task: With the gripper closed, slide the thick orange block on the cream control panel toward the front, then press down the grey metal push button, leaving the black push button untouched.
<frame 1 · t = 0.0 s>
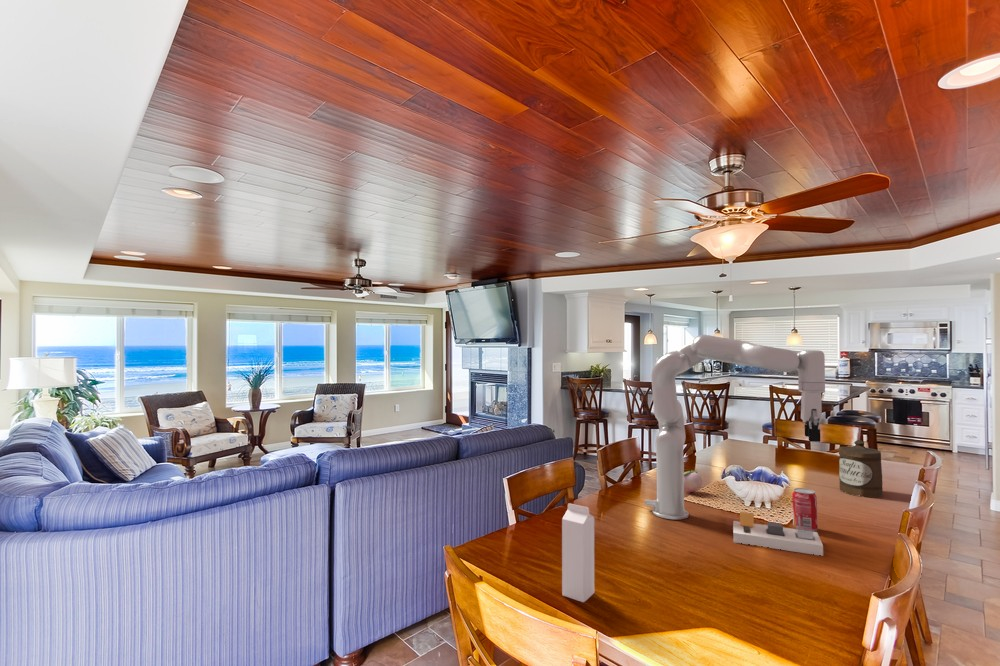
hand: (812, 439, 165), 31 cm above the table, tool pointing down, fingers open, 9 cm apart
control panel: (775, 541, 157), on the table
decorative fruit: (691, 493, 210), on the table
milk: (578, 595, 124), on the table
soda can: (805, 529, 168), on the table
button grey: (804, 534, 154), point 4 cm above the table, slide at 0.0 cm
wooden container: (860, 492, 211), on the table
thick orange block: (746, 523, 162), point 4 cm above the table, slide at 0.0 cm
button black: (775, 530, 157), point 4 cm above the table, slide at 0.0 cm
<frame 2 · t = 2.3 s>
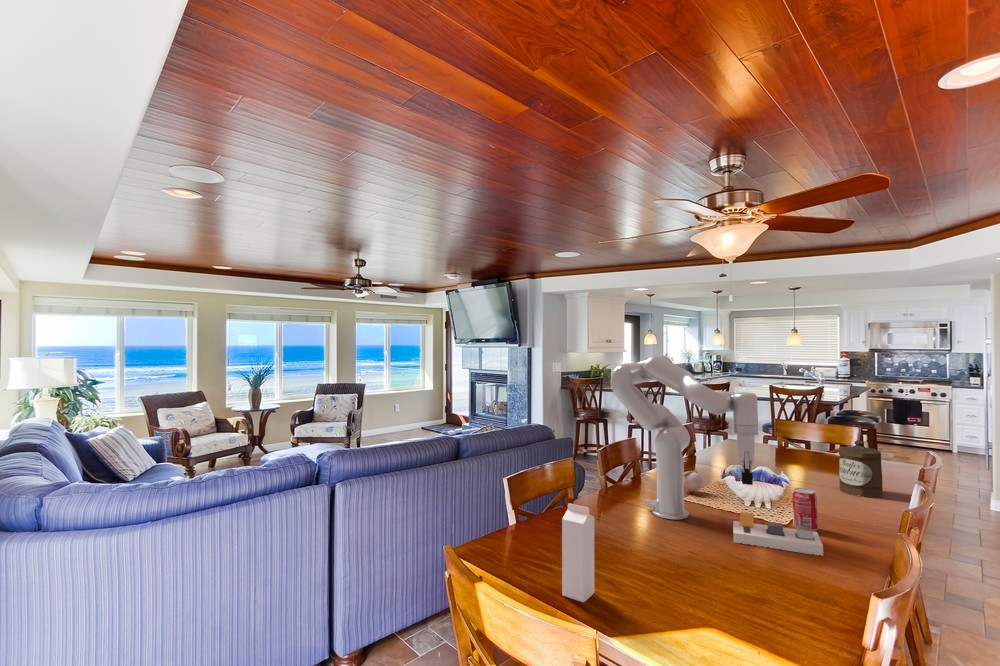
hand: (747, 483, 168), 15 cm above the table, tool pointing down, fingers closed
nothing on the table moved.
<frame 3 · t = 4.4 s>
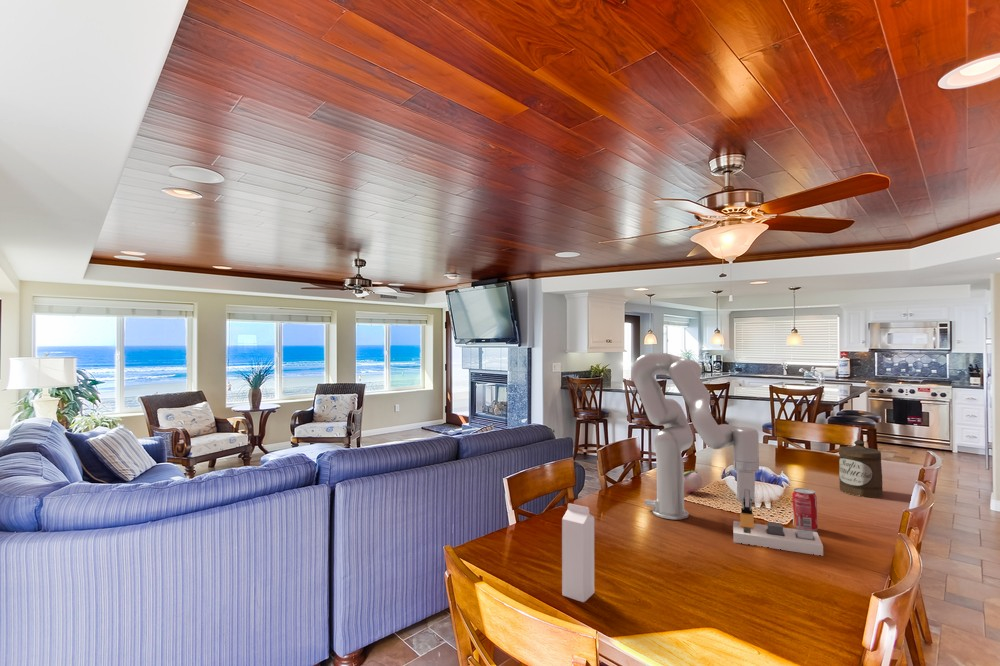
hand: (746, 521, 164), 4 cm above the table, tool pointing down, fingers closed
thick orange block: (746, 524, 161), point 4 cm above the table, slide at 1.1 cm, touching gripper
everything else where it was.
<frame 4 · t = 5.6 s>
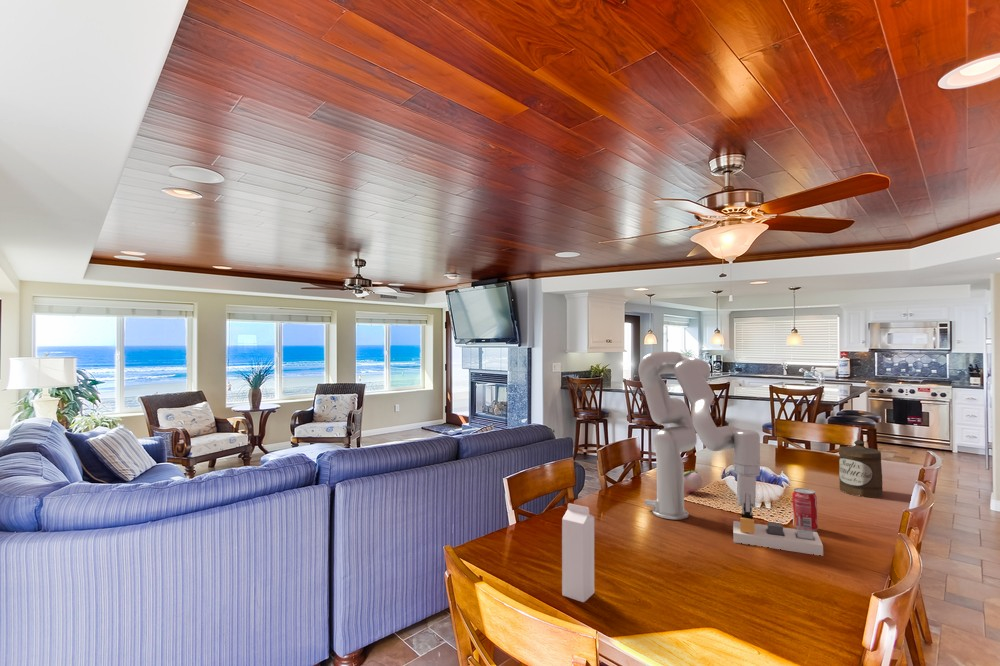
hand: (747, 526, 160), 4 cm above the table, tool pointing down, fingers closed
thick orange block: (747, 529, 157), point 4 cm above the table, slide at 6.0 cm, touching control panel, gripper
everything else where it was.
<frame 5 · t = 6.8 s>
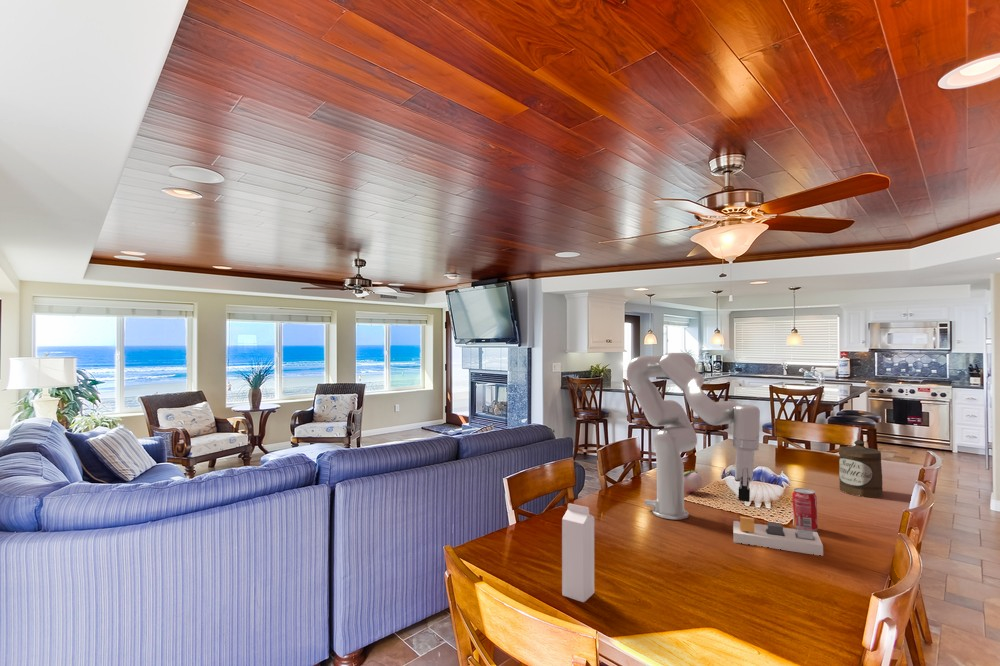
hand: (743, 500, 160), 12 cm above the table, tool pointing down, fingers closed
thick orange block: (747, 528, 158), point 4 cm above the table, slide at 5.1 cm
everything else where it was.
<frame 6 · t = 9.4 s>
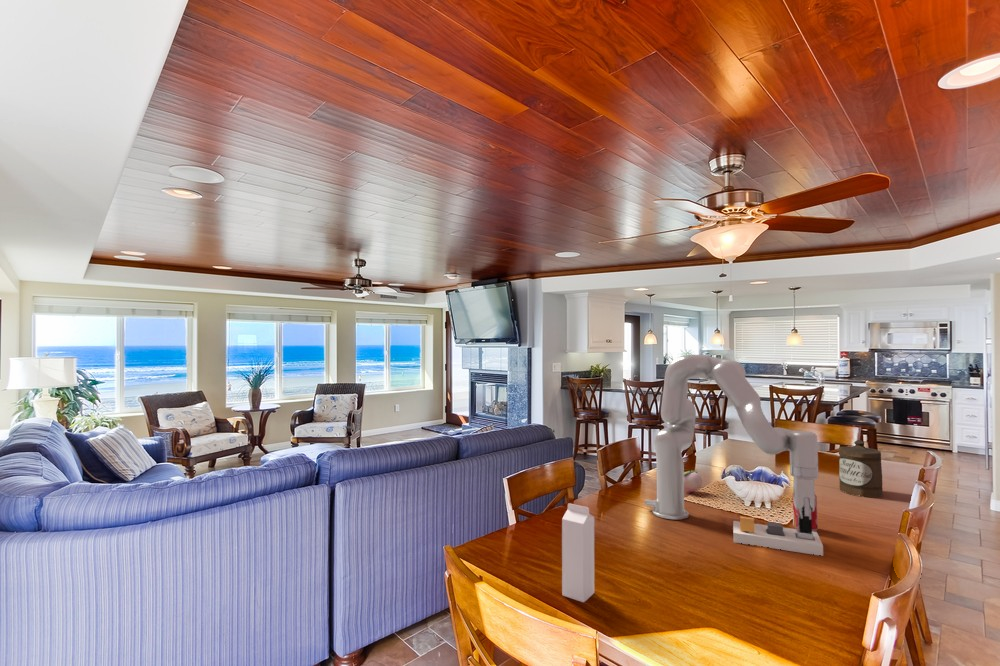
hand: (805, 531, 154), 5 cm above the table, tool pointing down, fingers closed
button grey: (804, 536, 154), point 3 cm above the table, slide at 0.8 cm, touching gripper
everything else where it was.
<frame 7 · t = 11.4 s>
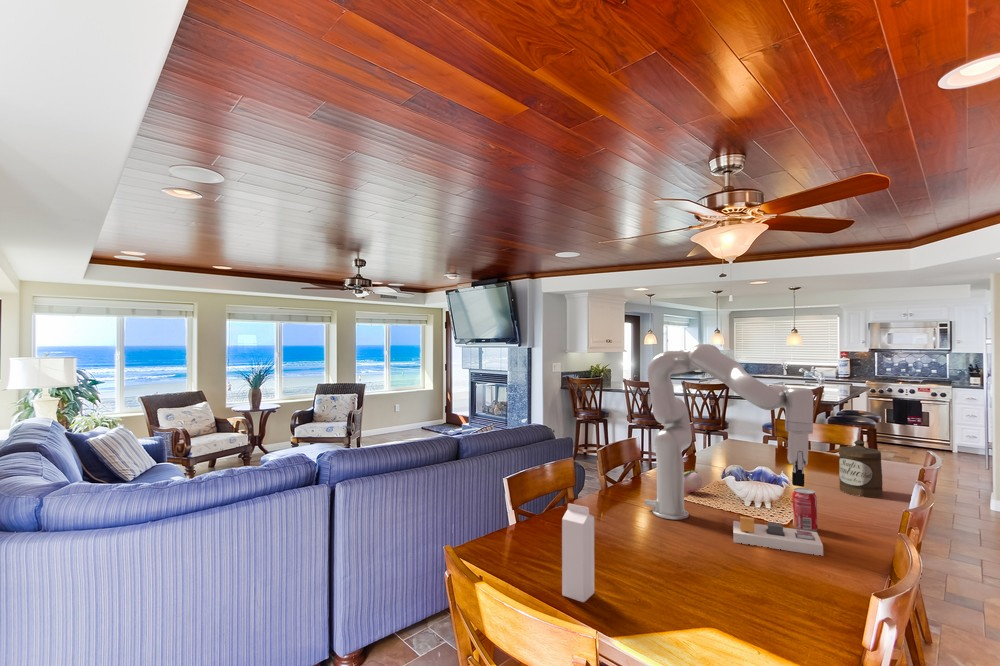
hand: (798, 485, 156), 18 cm above the table, tool pointing down, fingers closed
button grey: (804, 538, 154), point 2 cm above the table, slide at 1.5 cm
everything else where it was.
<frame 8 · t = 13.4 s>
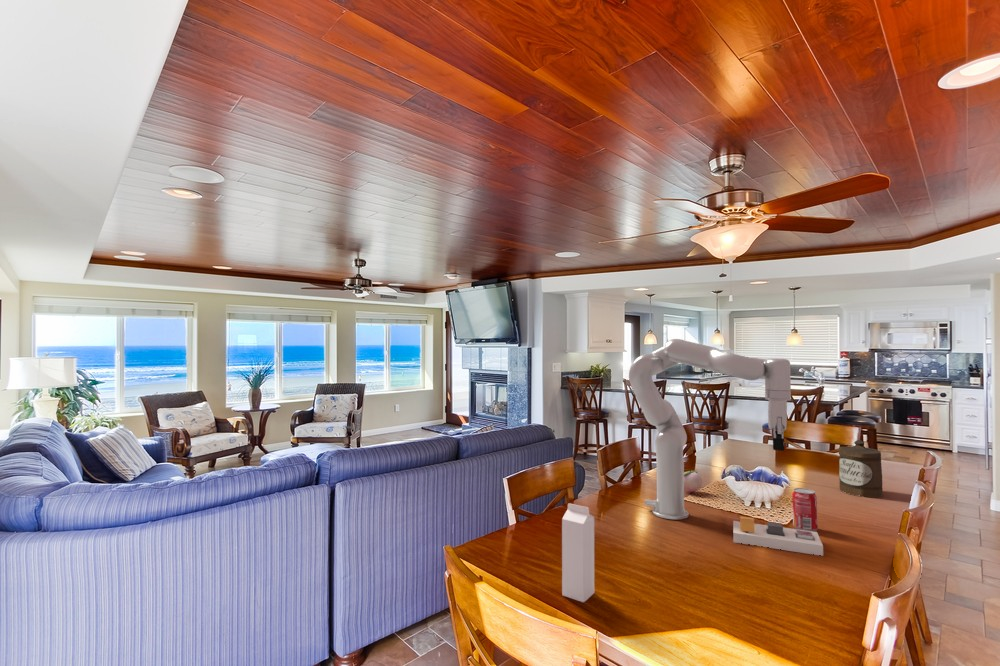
hand: (778, 449, 167), 27 cm above the table, tool pointing down, fingers closed
nothing on the table moved.
at the end: thick orange block slide at 5.1 cm; button grey slide at 1.5 cm; button black slide at 0.0 cm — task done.
